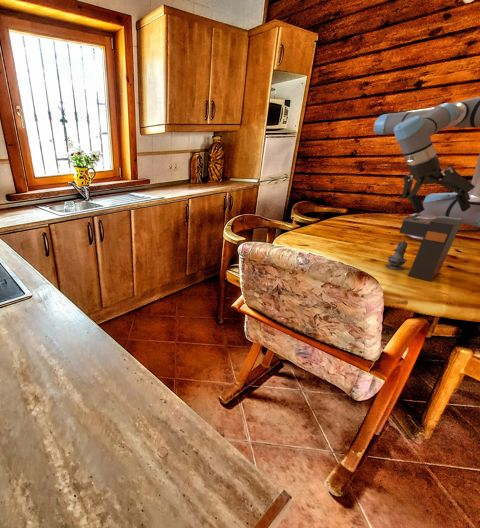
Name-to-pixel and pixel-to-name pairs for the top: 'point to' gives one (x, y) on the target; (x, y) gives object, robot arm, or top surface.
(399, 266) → the dark grey chess piece
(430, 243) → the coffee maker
